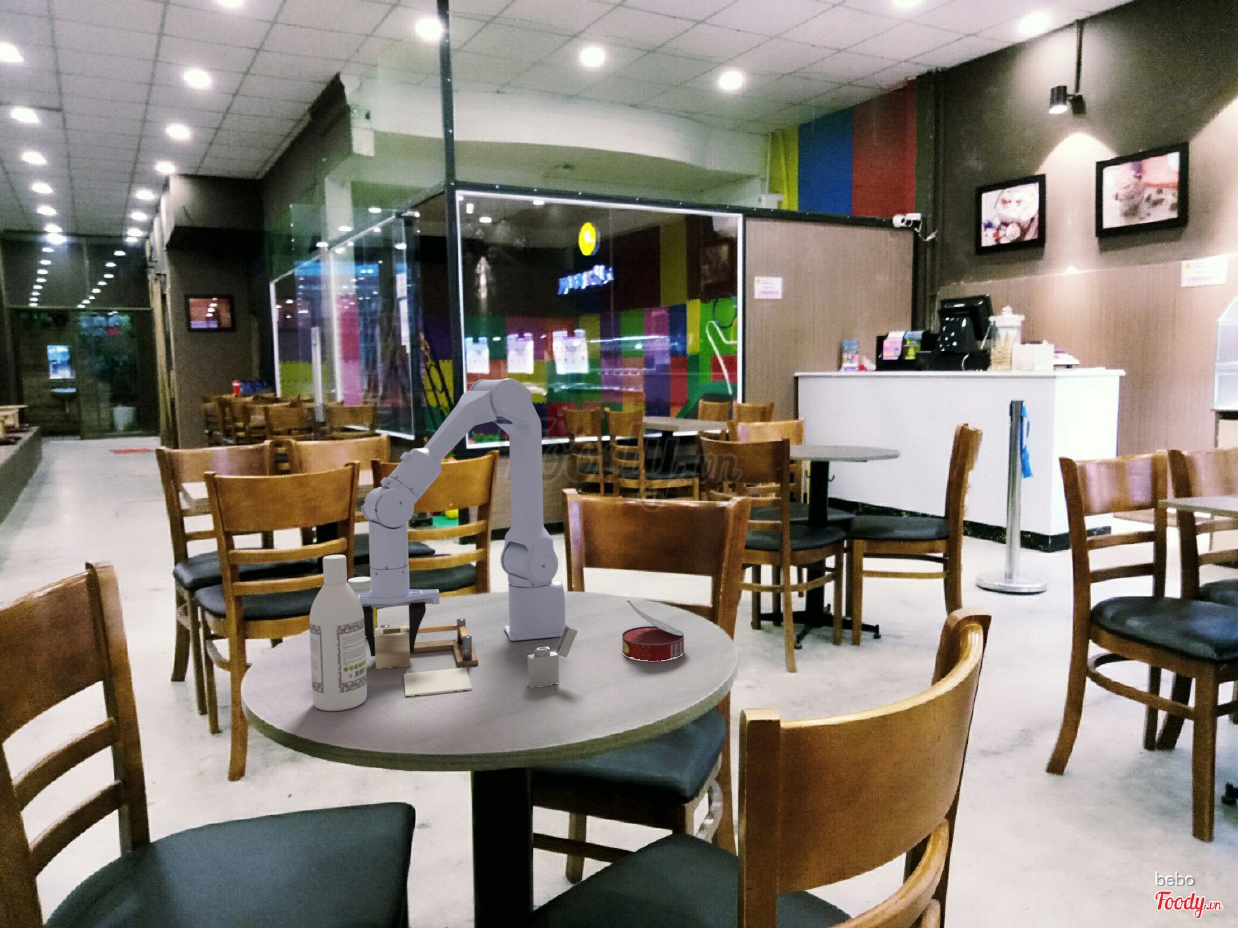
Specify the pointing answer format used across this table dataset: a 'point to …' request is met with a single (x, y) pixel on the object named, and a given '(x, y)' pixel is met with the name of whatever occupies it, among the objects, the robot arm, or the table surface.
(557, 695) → the table surface
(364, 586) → the supplement bottle
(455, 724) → the table surface
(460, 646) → the wooden rail
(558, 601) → the robot arm
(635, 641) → the canned food
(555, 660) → the lighter
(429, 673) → the coaster
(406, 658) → the hollow wooden cube
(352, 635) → the bath foam
